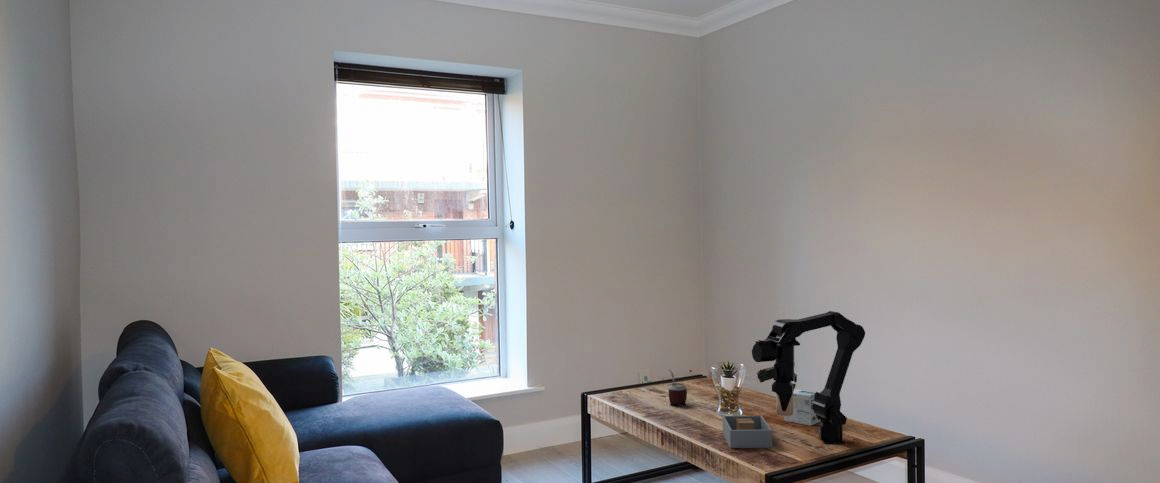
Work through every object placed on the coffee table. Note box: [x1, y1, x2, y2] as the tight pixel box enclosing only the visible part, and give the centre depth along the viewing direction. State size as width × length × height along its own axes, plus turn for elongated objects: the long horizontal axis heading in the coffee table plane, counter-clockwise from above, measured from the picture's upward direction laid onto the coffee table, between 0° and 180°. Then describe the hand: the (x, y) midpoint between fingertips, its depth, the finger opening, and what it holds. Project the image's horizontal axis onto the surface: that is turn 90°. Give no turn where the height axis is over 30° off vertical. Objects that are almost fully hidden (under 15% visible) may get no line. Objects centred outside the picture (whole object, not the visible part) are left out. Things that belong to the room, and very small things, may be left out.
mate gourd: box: [668, 369, 688, 408], centre depth 296 cm, size 8×8×15 cm
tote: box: [722, 415, 773, 449], centre depth 250 cm, size 13×17×6 cm
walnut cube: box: [736, 419, 754, 430], centre depth 253 cm, size 5×5×5 cm
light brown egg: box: [776, 394, 793, 417], centre depth 241 cm, size 5×5×7 cm
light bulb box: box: [783, 388, 821, 427], centre depth 270 cm, size 11×7×11 cm, turn 47°
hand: (784, 408), depth 241 cm, fingers closed on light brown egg, 5 cm apart
